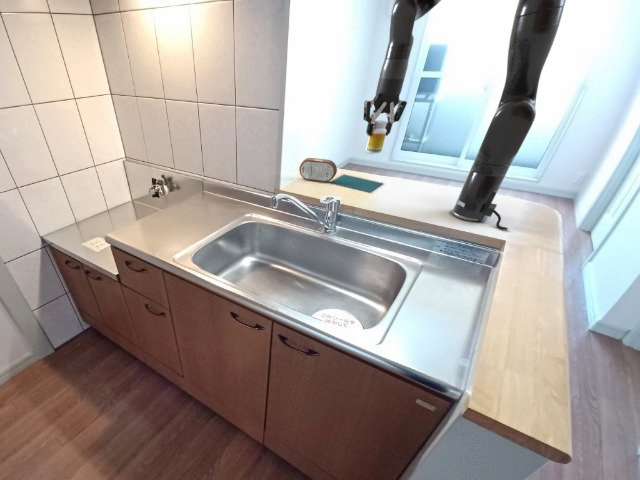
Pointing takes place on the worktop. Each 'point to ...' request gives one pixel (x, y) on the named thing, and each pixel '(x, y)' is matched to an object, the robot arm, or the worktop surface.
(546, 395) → the worktop surface
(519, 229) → the worktop surface
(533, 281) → the worktop surface
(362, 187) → the mat
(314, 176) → the tin
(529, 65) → the robot arm
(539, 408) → the worktop surface
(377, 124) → the supplement bottle
